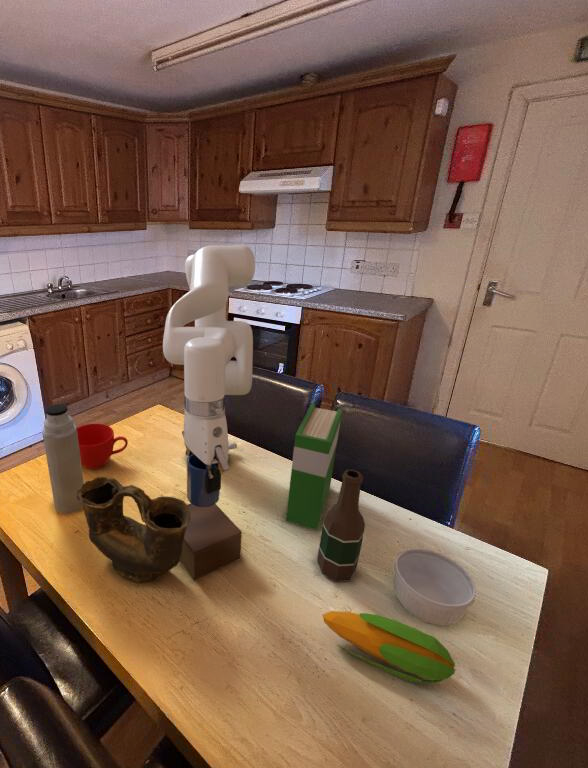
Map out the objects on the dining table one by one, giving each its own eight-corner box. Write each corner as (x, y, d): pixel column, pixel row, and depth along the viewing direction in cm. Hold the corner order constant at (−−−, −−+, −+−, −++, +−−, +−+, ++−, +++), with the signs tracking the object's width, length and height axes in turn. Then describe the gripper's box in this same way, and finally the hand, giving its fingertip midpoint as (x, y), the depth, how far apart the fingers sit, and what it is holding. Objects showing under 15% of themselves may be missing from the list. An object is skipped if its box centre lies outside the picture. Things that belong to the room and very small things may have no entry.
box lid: (165, 515, 93) (164, 512, 93) (208, 499, 98) (208, 496, 98) (194, 555, 83) (194, 552, 82) (241, 534, 88) (241, 531, 87)
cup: (208, 483, 91) (208, 448, 88) (225, 500, 86) (226, 464, 82) (181, 492, 88) (181, 457, 85) (197, 511, 83) (197, 473, 79)
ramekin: (469, 646, 72) (480, 618, 69) (385, 613, 78) (392, 586, 75) (464, 588, 82) (473, 562, 80) (390, 564, 88) (397, 539, 86)
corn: (463, 673, 60) (321, 616, 69) (451, 708, 63) (315, 650, 71) (458, 632, 66) (328, 585, 75) (446, 666, 69) (322, 617, 78)
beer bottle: (354, 558, 90) (374, 465, 80) (356, 587, 83) (377, 490, 73) (317, 550, 92) (331, 459, 83) (315, 577, 85) (331, 481, 76)
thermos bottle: (61, 493, 112) (46, 399, 101) (89, 494, 111) (78, 400, 100) (49, 513, 105) (32, 414, 94) (80, 514, 104) (67, 416, 93)
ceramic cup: (126, 475, 119) (124, 445, 115) (67, 475, 119) (63, 446, 115) (131, 451, 131) (129, 423, 127) (78, 451, 131) (74, 423, 127)
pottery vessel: (74, 562, 90) (62, 487, 82) (103, 529, 99) (95, 459, 91) (177, 605, 80) (175, 525, 72) (199, 565, 89) (200, 489, 81)
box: (166, 540, 96) (166, 517, 93) (209, 523, 100) (209, 500, 98) (194, 580, 85) (194, 555, 83) (240, 558, 90) (241, 534, 88)
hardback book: (302, 480, 115) (311, 403, 106) (329, 488, 112) (342, 409, 103) (285, 520, 101) (295, 434, 91) (317, 530, 98) (330, 442, 88)
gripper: (248, 417, 73) (243, 499, 80) (197, 383, 87) (197, 455, 94) (212, 427, 70) (210, 512, 77) (166, 391, 84) (168, 465, 91)
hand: (203, 480), depth 85 cm, fingers closed on cup, 6 cm apart
